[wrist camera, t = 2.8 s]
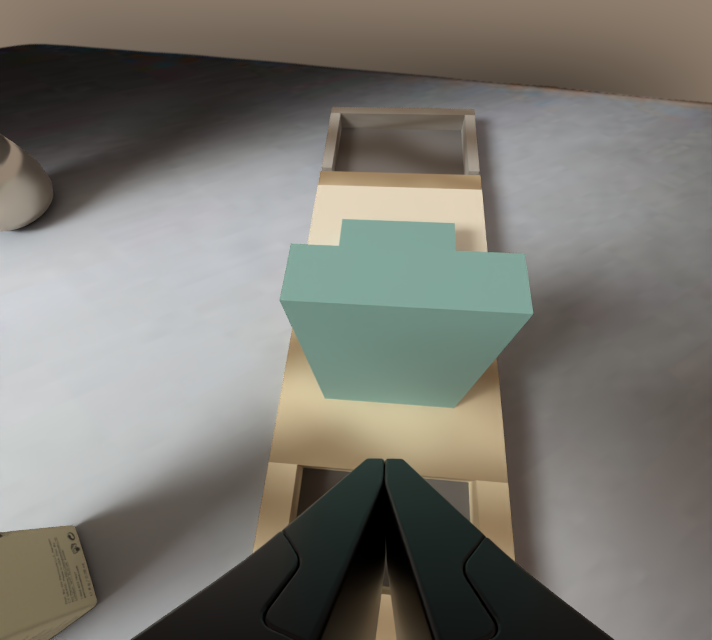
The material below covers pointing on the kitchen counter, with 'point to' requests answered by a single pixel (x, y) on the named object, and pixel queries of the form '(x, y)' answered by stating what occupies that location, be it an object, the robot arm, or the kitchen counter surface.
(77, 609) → the box
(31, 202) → the plastic bottle
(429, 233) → the teal L-block
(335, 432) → the birch board
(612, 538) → the kitchen counter surface
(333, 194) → the cream pad
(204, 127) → the kitchen counter surface
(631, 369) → the kitchen counter surface
